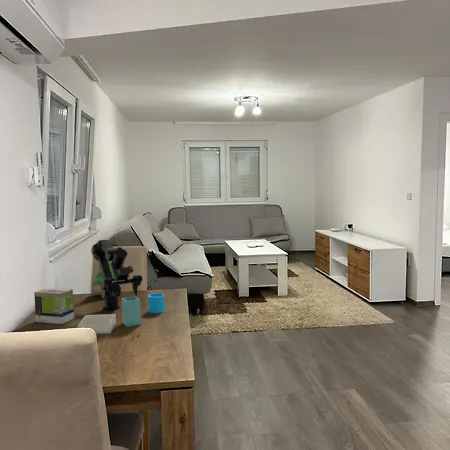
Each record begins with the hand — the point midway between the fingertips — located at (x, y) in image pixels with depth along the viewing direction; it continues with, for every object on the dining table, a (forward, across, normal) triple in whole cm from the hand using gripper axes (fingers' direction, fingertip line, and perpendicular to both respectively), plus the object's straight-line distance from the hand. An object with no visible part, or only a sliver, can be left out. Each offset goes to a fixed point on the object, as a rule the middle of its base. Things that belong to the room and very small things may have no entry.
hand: (127, 297), depth 205 cm
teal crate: (+12, 0, +5) cm, 13 cm away
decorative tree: (-32, +6, +48) cm, 58 cm away
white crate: (+10, -15, +6) cm, 19 cm away
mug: (+1, +18, +16) cm, 24 cm away
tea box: (-7, -29, +23) cm, 38 cm away
